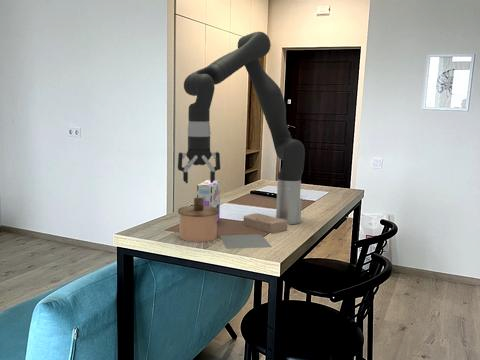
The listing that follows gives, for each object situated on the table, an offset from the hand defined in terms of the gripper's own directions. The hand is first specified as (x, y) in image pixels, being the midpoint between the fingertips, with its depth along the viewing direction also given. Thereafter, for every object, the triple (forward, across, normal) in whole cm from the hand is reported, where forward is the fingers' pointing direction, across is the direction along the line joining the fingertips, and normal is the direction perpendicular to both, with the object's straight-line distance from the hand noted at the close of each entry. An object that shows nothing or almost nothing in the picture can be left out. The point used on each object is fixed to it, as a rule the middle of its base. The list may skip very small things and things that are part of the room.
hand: (199, 182), depth 158 cm
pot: (+19, 0, 0) cm, 19 cm away
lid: (+10, 0, 0) cm, 10 cm away
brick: (+20, -26, -10) cm, 34 cm away
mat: (+20, -15, +7) cm, 26 cm away
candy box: (+20, -6, -19) cm, 28 cm away
